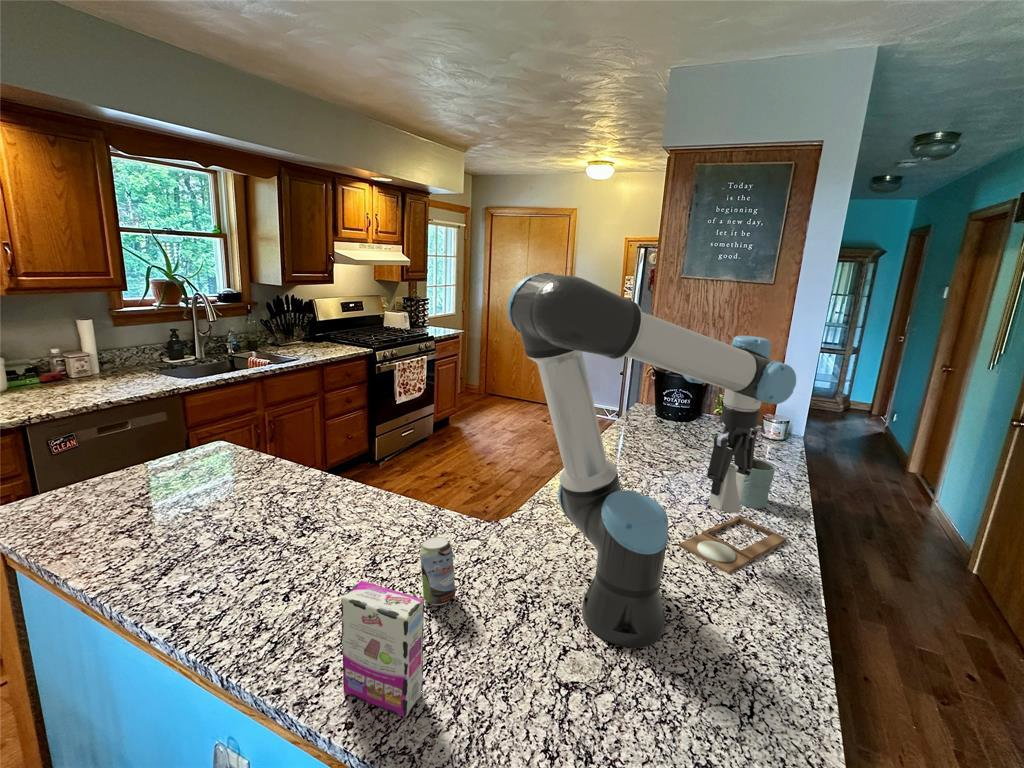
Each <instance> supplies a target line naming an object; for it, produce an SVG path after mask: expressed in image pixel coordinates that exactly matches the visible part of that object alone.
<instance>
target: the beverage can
mask: <svg viewBox="0 0 1024 768" xmlns="http://www.w3.org/2000/svg"><path fill="white" fill-rule="evenodd" d="M419 556H420V558H419V559H420V568H421V579H422V580H421V581H422V582H421V583H422V594H423V600H424V599H425V600H426V601H427V602H426V601H425V600H424V601H425V602H426V603H428V602H429V603H428V604H430V603H431V604H430V605H432V606H442V605H446V604H447V603H449V602H450V601H452V600H453V599H454V598H455V595H456V585H455V583H456V582H455V569H454V558H453V546H452V544H451V543H450V542H449V539H448V538H447V537H443V536H434V537H430V538H427V539H425V540H424V541H423V542H422V546H421V547H420V550H419Z"/></svg>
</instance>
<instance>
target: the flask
mask: <svg viewBox="0 0 1024 768" xmlns="http://www.w3.org/2000/svg"><path fill="white" fill-rule="evenodd" d="M738 468H739V467H738V466H736V465H735V463H730V465H729V468H728V471H727V474H726V476H725V479H724V482H726V486H725V491H724V497H723V503H722V509H721V510H719V509H716V508H714V507H712V506H710V507H712V508H713V510H716V511H720V512H724V513H728V514H730V513H732V514H734V513H737V514H738V513H739V514H740V513H741V509H742V505H741V504H740V500H739V496H738V491H737V485H736V472H737V471H738ZM709 500H710V498H709ZM709 500H708V502H707V504H708V505H709Z"/></svg>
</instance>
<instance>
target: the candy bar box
mask: <svg viewBox="0 0 1024 768" xmlns="http://www.w3.org/2000/svg"><path fill="white" fill-rule="evenodd" d="M340 601H341V606H340V607H341V637H342V638H341V640H342V641H341V642H342V643H341V644H342V674H343V675H342V677H343V678H342V681H343V684H342V685H343V687H342V688H343V693H345V694H346V695H349V696H350V697H353V698H356V699H358V700H361V701H363V702H365V703H368V704H371V705H374V706H376V707H379V708H380V709H383V710H385V711H388V712H390V713H392V714H395V715H396V716H397V715H398V716H399V717H402V718H405V719H406V718H407V717H408V715H409V714H410V713H411V712H412V710H413V708H414V707H415V705H416V704H417V703H418V702H419V700H420V698H421V697H422V696H423V689H424V688H423V684H424V683H423V682H424V681H423V680H424V679H423V678H424V677H423V676H424V675H423V673H424V626H425V625H424V621H425V617H424V616H425V614H424V613H425V611H424V610H425V600H424V598H423V599H422V598H420V597H417V596H413V595H410V594H406V593H403V592H400V591H397V590H393V589H391V588H387V587H384V586H381V585H378V584H374V583H371V582H368V581H366V580H360V581H359V582H357V584H355V586H353V587H352V588H351V589H350V590H349V591H348V592H346V593H345V594H344V595H343V596H341V598H340ZM421 691H422V692H421Z"/></svg>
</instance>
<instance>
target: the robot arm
mask: <svg viewBox="0 0 1024 768" xmlns="http://www.w3.org/2000/svg"><path fill="white" fill-rule="evenodd" d="M506 308H507V316H508V318H509V321H510V323H511V325H512V326H513V328H514V329H515V330H516V332H518V333H520V336H521V340H522V344H523V347H524V348H523V349H524V350H525V351H524V352H525V355H526V356H525V357H527V359H529V360H531V361H533V362H534V363H536V365H537V368H538V374H539V376H540V379H541V381H540V382H541V385H542V387H543V393H544V395H545V396H544V397H545V400H546V402H547V403H546V404H547V409H548V412H549V415H550V418H551V419H550V420H551V422H552V427H553V430H554V434H555V437H556V441H557V446H558V449H559V453H560V457H561V460H562V464H563V470H562V471H561V473H560V474H559V483H560V485H558V491H557V498H558V503H559V506H560V508H561V511H562V512H563V514H564V515H565V518H567V519H568V520H569V522H571V523H572V524H574V526H576V528H577V529H578V530H579V531H580V532H581V534H583V535H584V537H586V538H587V540H588V542H590V543H591V544H592V545H593V547H594V548H595V549H596V551H597V555H596V556H597V557H596V559H597V560H596V565H595V566H596V569H595V575H594V576H593V579H592V580H591V583H590V584H589V587H588V588H587V590H586V592H585V595H584V596H583V600H582V607H581V616H582V618H583V621H584V623H585V625H586V626H587V628H589V630H590V631H591V632H592V633H594V635H596V636H597V637H599V638H601V640H604V641H606V642H609V643H610V644H613V645H616V646H620V647H625V648H643V647H648V646H650V645H653V644H655V643H656V642H658V641H659V640H660V639H661V638H662V636H663V633H664V629H665V623H666V614H665V611H664V607H663V602H662V596H661V592H660V591H661V590H660V589H661V587H660V586H661V580H662V575H663V574H662V573H663V569H664V562H665V556H666V551H667V544H668V540H669V519H668V518H669V517H668V514H667V512H666V511H665V509H664V507H663V506H662V505H661V504H660V503H659V502H658V501H657V500H656V499H654V498H652V497H650V496H649V495H646V494H645V495H643V494H641V493H640V492H638V491H633V490H623V489H622V487H621V483H620V479H619V478H620V477H619V474H618V470H617V466H616V465H615V464H614V463H613V462H612V461H610V460H608V459H607V457H606V456H607V455H606V451H605V446H604V443H603V438H602V434H601V430H600V429H601V428H600V425H599V421H598V415H597V411H596V408H595V407H596V406H595V402H594V399H593V394H592V389H591V385H590V380H589V376H588V372H587V371H588V370H587V367H586V362H585V358H584V353H588V354H594V355H598V356H602V357H606V358H608V359H612V360H620V359H622V358H624V357H627V358H630V359H633V360H636V361H639V362H642V363H644V364H647V365H648V364H649V365H651V366H654V367H657V368H659V369H663V370H667V371H670V372H671V373H676V374H678V375H682V377H683V378H684V380H686V381H687V382H689V383H695V384H709V385H713V386H715V387H719V388H722V389H724V394H723V401H722V403H723V404H724V405H723V406H722V407H721V413H720V422H721V423H722V424H723V425H724V429H723V431H722V434H721V435H714V436H713V448H712V451H711V456H710V460H709V465H708V468H707V469H708V470H707V473H706V474H707V475H706V478H707V479H710V480H712V482H711V483H712V484H711V490H710V494H709V499H710V500H708V502H709V504H708V506H710V507H711V506H712V508H713V507H714V508H716V509H719V510H718V511H720V510H721V509H722V503H723V497H724V491H725V486H726V482H724V479H725V476H726V474H727V471H728V468H729V465H730V464H732V463H731V462H732V460H733V457H734V465H736V466H738V467H739V468H738V471H737V472H736V485H737V491H738V496H739V500H741V495H742V489H743V484H744V478H745V474H746V475H748V476H749V475H750V473H751V472H750V471H748V470H751V469H752V464H753V458H754V454H755V447H756V446H755V445H756V439H757V436H758V429H755V428H757V427H758V424H759V418H760V411H759V409H760V408H761V405H762V402H763V403H767V404H771V405H779V404H782V403H784V402H786V401H787V400H789V398H790V397H791V396H792V395H793V393H794V390H795V388H796V386H797V374H796V372H795V370H794V368H792V367H791V366H790V365H789V364H787V363H783V362H780V361H779V360H773V359H771V348H772V343H771V341H770V340H769V339H768V338H764V337H760V336H753V335H736V336H735V337H733V338H732V339H733V341H732V343H731V345H730V344H728V343H726V342H723V341H720V340H717V339H715V338H713V337H709V336H706V335H704V334H701V333H698V332H697V331H693V330H691V329H689V328H686V327H683V326H680V325H678V324H675V323H674V322H670V321H667V320H664V319H661V318H659V317H656V316H653V315H651V314H648V313H646V312H643V311H642V309H641V306H640V305H639V304H638V303H637V302H635V301H632V300H630V299H627V298H626V297H623V296H620V295H619V294H616V293H615V292H613V291H610V290H608V289H606V288H604V287H602V286H600V285H597V284H595V283H594V282H591V281H589V280H587V279H584V278H582V277H578V276H575V275H574V276H573V275H561V274H554V273H550V272H542V273H537V274H531V275H528V276H526V277H524V278H523V279H522V280H520V281H519V282H518V283H517V284H516V285H515V286H514V287H513V289H512V291H511V293H510V294H509V296H508V299H507V307H506ZM583 352H584V353H583ZM747 463H748V464H747ZM714 508H713V509H714ZM716 509H715V510H716Z"/></svg>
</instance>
